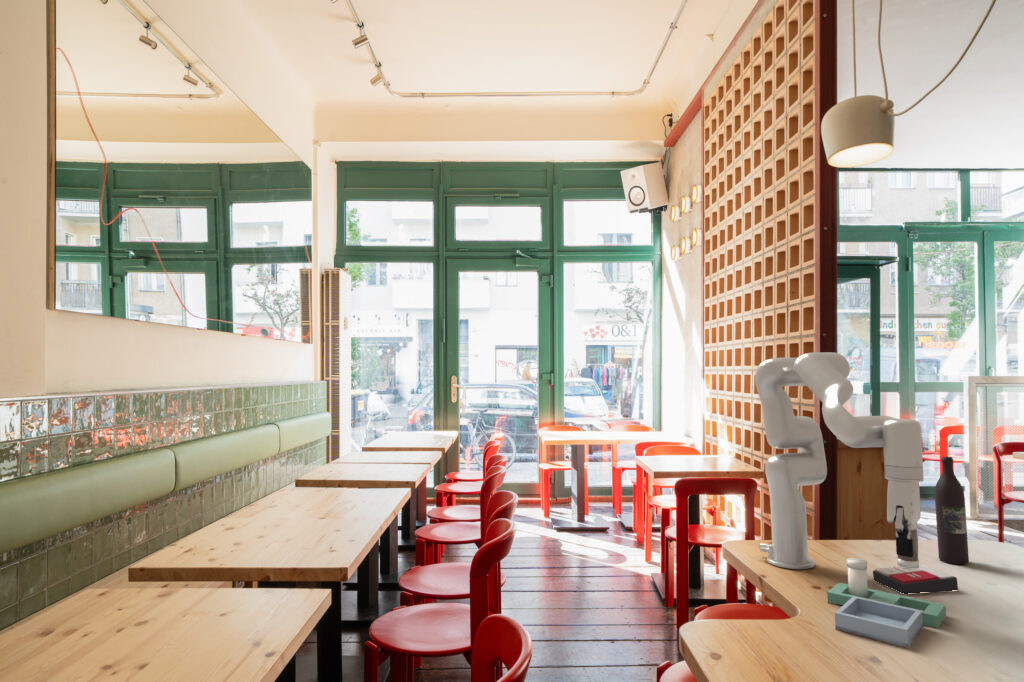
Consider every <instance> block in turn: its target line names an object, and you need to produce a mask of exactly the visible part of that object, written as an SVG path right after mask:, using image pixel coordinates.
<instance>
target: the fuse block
mask: <svg viewBox="0 0 1024 682" xmlns="http://www.w3.org/2000/svg"><path fill="white" fill-rule="evenodd" d="M826 593H827V595H826V597H827V603H828V602H829V604H832V603H835V604H834V605H836V604H839V605H838V606H840V605H844V604H845V603H846V602H847V601H848V600H850V599H851V598H852V597H853V596H854V595H849V588H848V583H845V582H838V583H836V584H835V585H834V586H833V587H831V589H829V590H828V591H827V592H826ZM856 597H858V596H856ZM860 598H863V597H860ZM865 599H870V600H874V601H879V602H883V603H888V604H893V605H897V606H902V607H906V608H911V609H916V610H920V611H922V616H923V626H928V627H931V628H937V629H938V628H939V626H940V625H941V624H942V622H943V621H944V619H945V618H944V617H945V616H947V613H946V612H947V611H946V610H947V609H946V604H945V603H940V602H934V601H931V600H927V599H926V600H925V599H921V598H916V597H911V596H908V595H907V596H906V595H903V594H898V593H897V594H896V593H892V592H887V591H886V592H885V591H882V590H878V589H872V588H868V598H865Z"/></svg>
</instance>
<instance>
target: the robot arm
mask: <svg viewBox="0 0 1024 682" xmlns="http://www.w3.org/2000/svg"><path fill="white" fill-rule="evenodd" d="M850 371H851V367H850V362H848V360H847V358H845V356H843V354H840V353H838V352H835V351H834V352H833V351H831V352H827V351H825V352H824V351H823V352H807V353H803V354H801V355H799V356H798V357H773V358H772V357H771V358H769V359H765V360H763V361H762V362H760V364H759V365H758V366H757V367H756V370H755V375H754V383H755V387H756V391H757V393H758V397H759V399H760V402H761V403H760V404H761V410H762V419H763V425H764V431H765V439H766V442H767V443H768V445H769V446H770V447H771V448H773V449H778V450H788V449H798V452H791V453H790V452H789V453H788V452H787V453H786V452H785V453H779V454H775V455H772V456H770V457H769V458H768V459H767V460H766V462H765V465H764V470H765V471H764V473H765V477H766V480H767V486H768V491H769V506H770V525H771V543H770V544H766V543H763V542H761V543H759V545H758V548H759V551H760V552H763V553H767V554H768V555H767V556H766V557H767V563H769V564H770V565H773V566H775V567H779V568H783V569H790V570H806V569H808V570H809V569H812V568H814V567H815V565H816V563H815V560H814V559H813V558H812V557H809V545H808V544H809V543H808V540H809V539H808V526H807V523H808V522H807V505H806V499H805V497H804V496H803V494H802V493H801V491H800V490H799V488H798V487H802V486H816V485H820V484H822V483H823V482H824V481H825V480H826V478H827V475H828V467H827V460H826V459H827V458H826V452H825V447H824V446H825V445H824V438H823V434H822V430H821V428H820V426H819V423H818V422H817V421H816V420H815V419H813V418H812V417H810V416H805V415H804V416H803V415H800V416H798V415H795V412H794V408H793V407H794V406H793V401H792V399H791V398H790V395H788V393H787V391H785V390H784V389H783V387H807V388H808V389H809V390H810V391H811V392H812V393H813V394H814V395H815V396H816V397H817V398H818V399H819V401H820V402H821V403H822V406H821V412H822V417H823V418H822V419H823V421H824V424H825V425H826V427H827V429H829V430H830V432H832V434H833V435H834V436H835V437H836V438H837V439H838V440H839V441H840V442H841V443H842V444H844V445H845V446H848V447H850V448H853V449H860V448H861V449H863V448H883V463H884V466H883V467H884V478H885V479H886V480H888V481H887V491H886V493H887V494H886V501H887V502H886V514H887V515H886V520H887V522H888V523H889V524H893V523H895V520H896V525H894V526H895V527H894V529H895V551H896V555H900V556H906V557H913V539H911V526H912V525H913V524H915V523H916V522H917V523H918V521H920V519H921V511H922V510H921V493H920V483H922V482H924V480H925V479H924V461H923V442H922V441H923V440H922V426H921V423H920V422H919V421H918V420H916V419H912V418H911V419H910V418H896V417H892V416H888V415H863V416H862V415H860V416H857V415H856V416H854V415H852V414H851V413H850V412H849V411H848V410H847V409H846V408H845V407H844V404H846V403H847V402H848V401H849V400H850V399H851V397H852V396H853V393H854V386H853V384H852V383H851V382H850V381H849V380H848V379H847V378H848V377H849V375H850ZM903 522H907V524H908V525H906V524H903ZM904 527H907V530H906V528H904ZM918 536H919V535H918V534H917V543H918V544H919V539H918V538H919V537H918Z"/></svg>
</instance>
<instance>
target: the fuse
mask: <svg viewBox="0 0 1024 682" xmlns="http://www.w3.org/2000/svg"><path fill="white" fill-rule="evenodd" d="M867 563H868V561H867V560H865V559H864V558H863V559H862V558H857V557H856V558H855V557H848V558H847V559H846V566H847V567H846V568H847V584H848V588H849V595H854V596H858V597H863V598H868V589H869V588H868V572H867V569H868V564H867Z"/></svg>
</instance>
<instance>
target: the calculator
mask: <svg viewBox="0 0 1024 682" xmlns="http://www.w3.org/2000/svg"><path fill="white" fill-rule="evenodd" d="M872 576H873V581H874V580H875V581H877V582H876V583H878V582H879V583H878V584H880V583H881V584H880V585H882V584H883V586H884V585H886V586H888V587H890V588H893V589H895V590H897V591H899V592H901V593H904V594H908V593H920V592H934V593H939V591H952V590H958V591H959V585H958V578H957V577H956V576H954V575H953V574H950V573H947V572H945V571H942V570H940V569H937V568H934V567H932V566H930V565H927V564H924V563H919V568H905V567H901V566H899V565H896V566H893V567H892V566H887V567H879V568H875V570H872ZM875 581H874V582H875ZM886 586H885V587H886ZM888 587H887V588H888ZM890 588H889V589H890ZM893 589H892V590H893ZM895 590H894V591H895ZM897 591H896V592H897ZM899 592H898V593H899ZM901 593H900V594H901ZM904 594H903V595H904Z"/></svg>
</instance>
